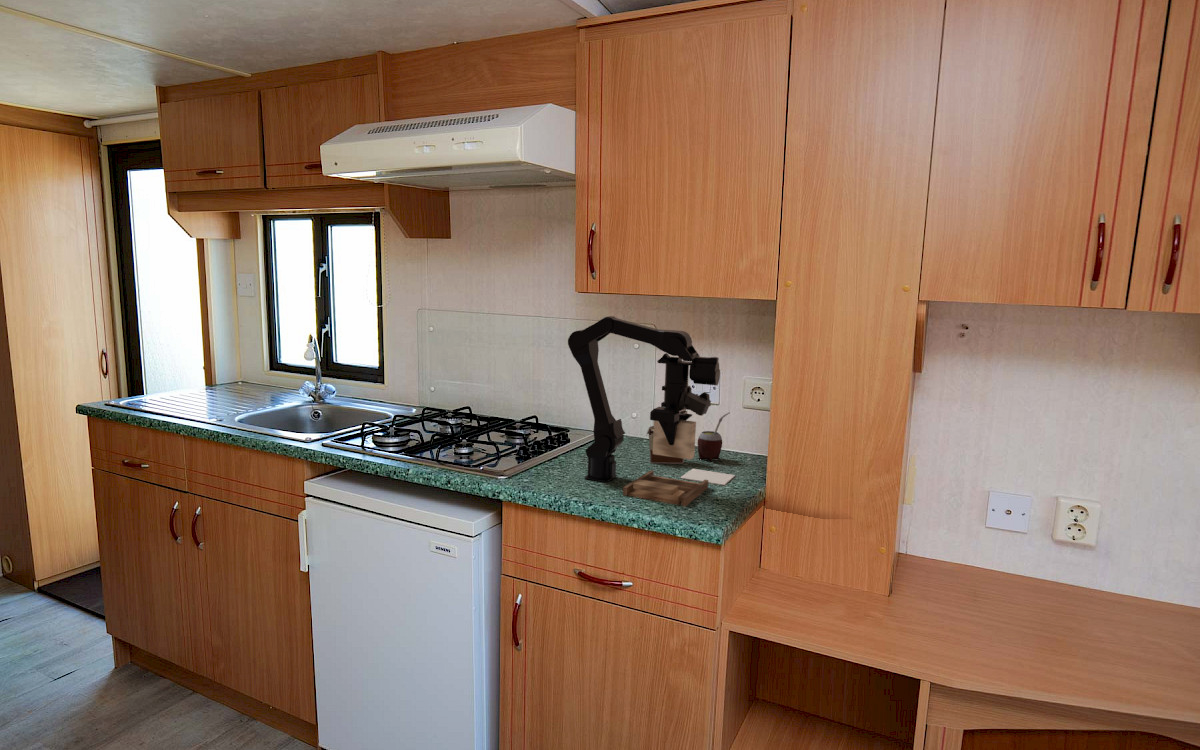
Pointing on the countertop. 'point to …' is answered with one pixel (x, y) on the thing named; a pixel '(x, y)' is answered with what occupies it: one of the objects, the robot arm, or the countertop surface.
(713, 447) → the mate gourd
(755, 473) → the countertop surface
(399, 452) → the countertop surface
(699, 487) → the rack
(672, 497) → the offcut stack
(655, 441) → the maple panel
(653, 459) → the food container
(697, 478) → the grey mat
